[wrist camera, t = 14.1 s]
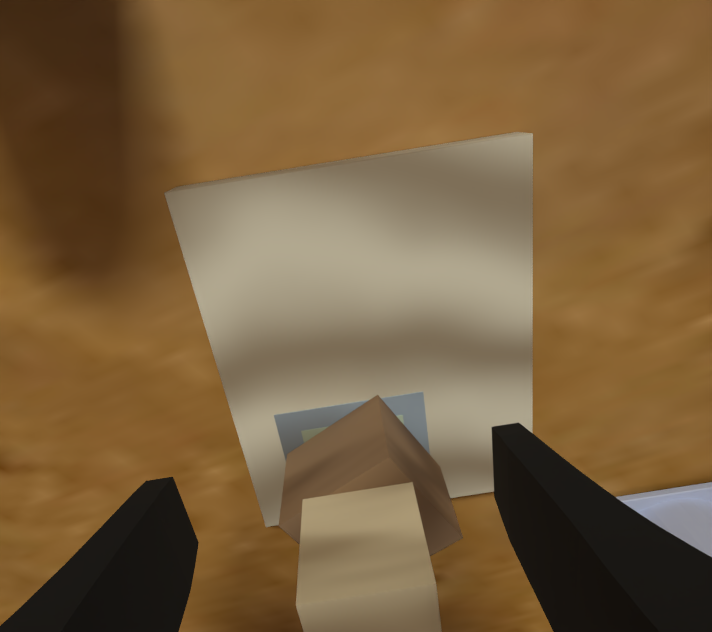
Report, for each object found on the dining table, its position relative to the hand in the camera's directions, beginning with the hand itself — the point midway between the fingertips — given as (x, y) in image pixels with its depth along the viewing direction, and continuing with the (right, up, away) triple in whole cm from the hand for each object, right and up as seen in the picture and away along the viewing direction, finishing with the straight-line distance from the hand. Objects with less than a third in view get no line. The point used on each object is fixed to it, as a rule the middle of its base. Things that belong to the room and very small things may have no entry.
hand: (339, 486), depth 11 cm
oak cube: (+1, -4, +7) cm, 8 cm away
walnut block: (+1, -3, +11) cm, 11 cm away
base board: (+1, +2, +10) cm, 11 cm away
